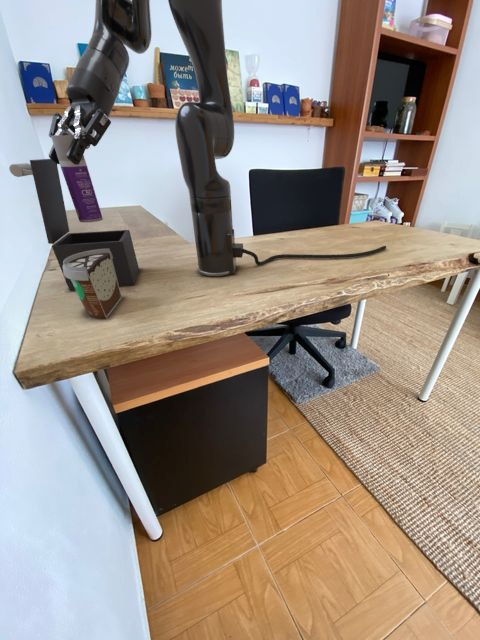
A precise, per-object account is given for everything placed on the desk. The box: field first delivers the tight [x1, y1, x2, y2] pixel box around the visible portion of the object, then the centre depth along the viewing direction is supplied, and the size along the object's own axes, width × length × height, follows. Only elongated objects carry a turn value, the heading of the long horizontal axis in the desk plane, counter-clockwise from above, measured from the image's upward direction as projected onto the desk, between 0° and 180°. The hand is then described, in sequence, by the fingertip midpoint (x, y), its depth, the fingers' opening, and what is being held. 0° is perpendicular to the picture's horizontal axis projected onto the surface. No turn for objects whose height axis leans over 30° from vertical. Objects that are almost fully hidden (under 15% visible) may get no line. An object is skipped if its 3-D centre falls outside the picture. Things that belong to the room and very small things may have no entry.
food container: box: [62, 249, 123, 320], centre depth 55 cm, size 12×6×10 cm, turn 5°
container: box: [50, 135, 104, 223], centre depth 60 cm, size 5×5×15 cm
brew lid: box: [8, 158, 70, 245], centre depth 60 cm, size 14×12×5 cm
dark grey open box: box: [51, 229, 140, 292], centre depth 68 cm, size 14×12×10 cm
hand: (63, 160), depth 57 cm, fingers closed on container, 4 cm apart
